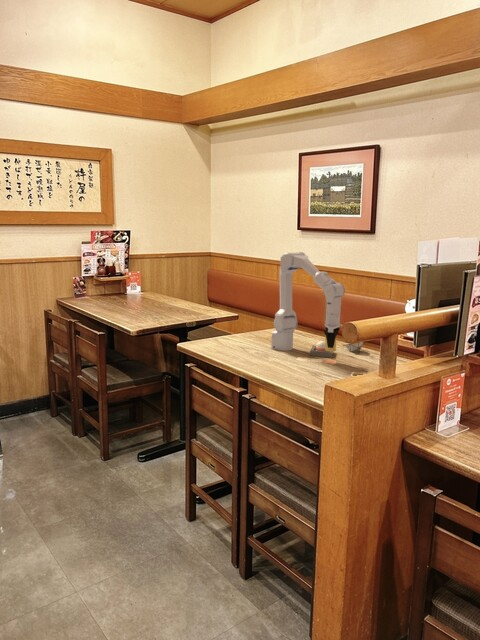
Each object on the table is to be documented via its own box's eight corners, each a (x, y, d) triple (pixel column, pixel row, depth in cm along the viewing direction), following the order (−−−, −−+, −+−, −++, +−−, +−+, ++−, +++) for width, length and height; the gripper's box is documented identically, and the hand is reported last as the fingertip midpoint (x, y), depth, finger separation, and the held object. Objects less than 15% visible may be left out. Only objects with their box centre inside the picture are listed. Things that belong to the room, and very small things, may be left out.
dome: (314, 353, 215) (315, 341, 214) (316, 350, 220) (316, 339, 219) (327, 354, 213) (328, 343, 212) (329, 351, 219) (329, 340, 218)
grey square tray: (310, 356, 214) (310, 350, 213) (312, 350, 222) (312, 345, 222) (331, 358, 212) (331, 352, 211) (333, 352, 220) (333, 347, 220)
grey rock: (356, 361, 224) (365, 347, 216) (339, 353, 225) (347, 339, 217) (360, 348, 230) (369, 334, 223) (343, 340, 231) (351, 326, 223)
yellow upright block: (324, 351, 203) (324, 335, 202) (325, 348, 207) (325, 333, 206) (335, 351, 202) (335, 335, 201) (336, 348, 206) (336, 333, 205)
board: (295, 364, 204) (295, 361, 204) (302, 350, 225) (303, 348, 225) (337, 368, 200) (337, 365, 200) (341, 354, 221) (341, 352, 221)
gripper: (341, 317, 194) (339, 351, 196) (344, 311, 207) (342, 342, 210) (323, 315, 195) (321, 349, 198) (327, 309, 209) (325, 341, 212)
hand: (331, 346), depth 204 cm, fingers closed on yellow upright block, 4 cm apart
